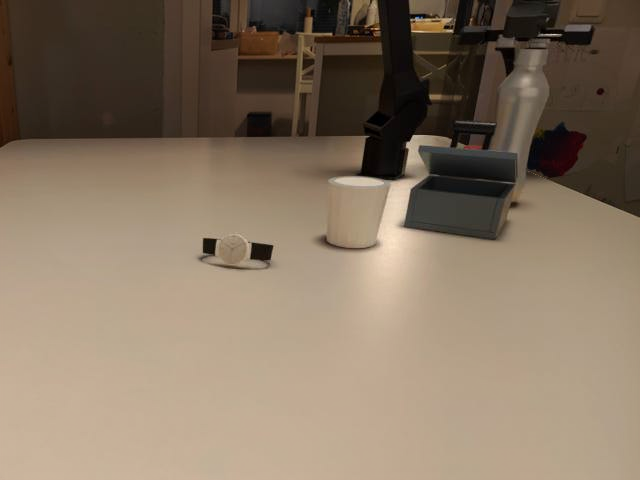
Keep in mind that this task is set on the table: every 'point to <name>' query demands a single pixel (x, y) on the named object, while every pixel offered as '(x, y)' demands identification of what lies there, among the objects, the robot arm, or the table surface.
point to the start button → (473, 147)
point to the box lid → (471, 156)
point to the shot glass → (355, 210)
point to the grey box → (459, 206)
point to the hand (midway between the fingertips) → (510, 94)
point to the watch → (236, 249)
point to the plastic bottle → (520, 109)
